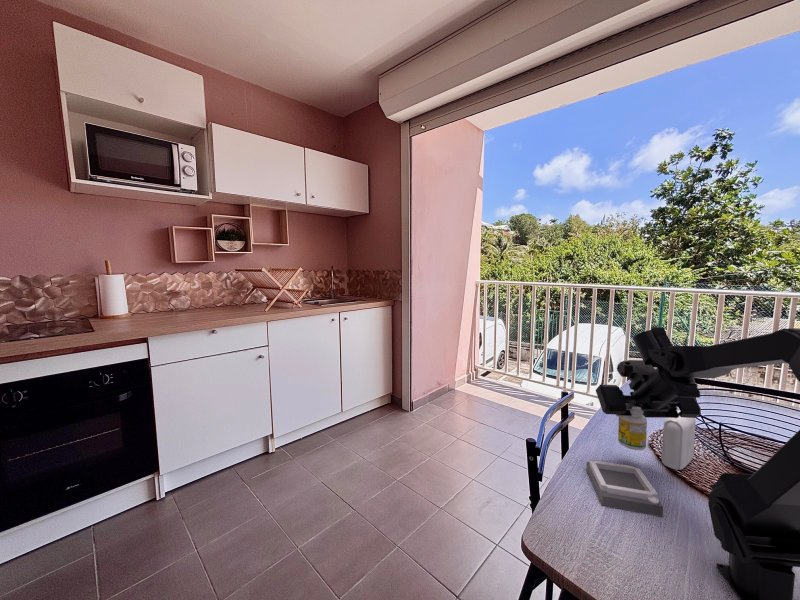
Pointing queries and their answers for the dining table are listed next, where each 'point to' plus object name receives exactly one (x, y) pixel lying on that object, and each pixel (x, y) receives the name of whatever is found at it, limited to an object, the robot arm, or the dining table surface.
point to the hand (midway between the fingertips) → (629, 414)
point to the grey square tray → (623, 488)
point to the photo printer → (678, 442)
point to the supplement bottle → (633, 430)
